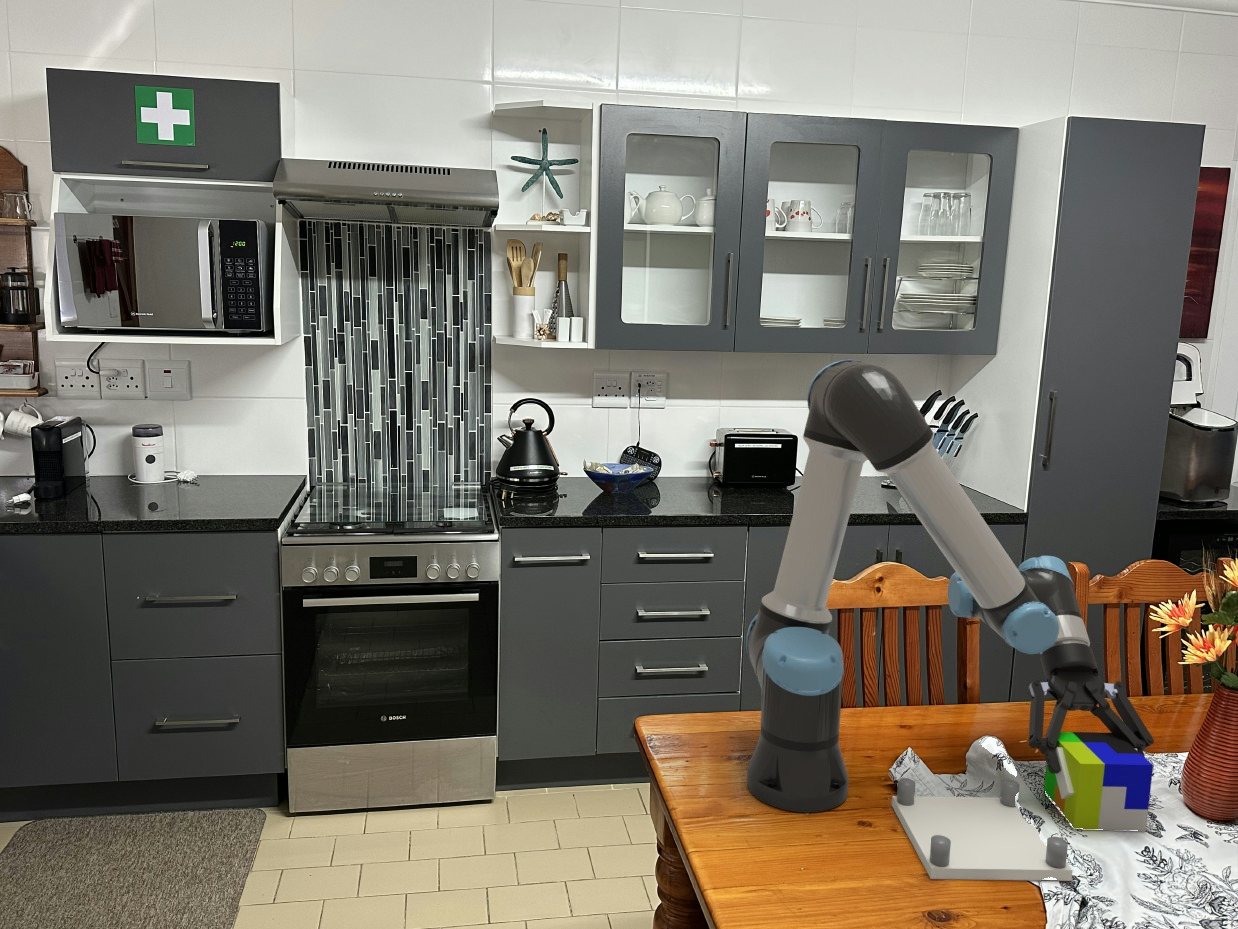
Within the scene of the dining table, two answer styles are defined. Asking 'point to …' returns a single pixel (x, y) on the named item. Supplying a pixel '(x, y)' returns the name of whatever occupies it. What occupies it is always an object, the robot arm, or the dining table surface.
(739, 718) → the dining table surface
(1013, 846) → the stub base
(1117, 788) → the puzzle toy
